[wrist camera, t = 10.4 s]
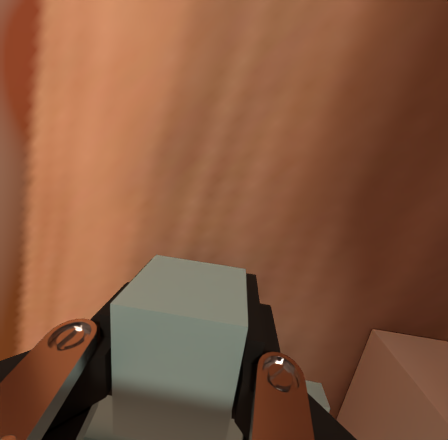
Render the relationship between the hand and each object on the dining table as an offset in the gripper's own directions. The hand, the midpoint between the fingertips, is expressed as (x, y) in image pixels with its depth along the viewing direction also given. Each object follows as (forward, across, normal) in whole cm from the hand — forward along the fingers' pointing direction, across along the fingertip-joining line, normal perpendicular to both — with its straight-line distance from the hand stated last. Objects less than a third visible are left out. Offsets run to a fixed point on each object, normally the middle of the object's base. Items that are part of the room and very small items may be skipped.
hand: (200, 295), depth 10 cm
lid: (-1, 0, +8) cm, 8 cm away
